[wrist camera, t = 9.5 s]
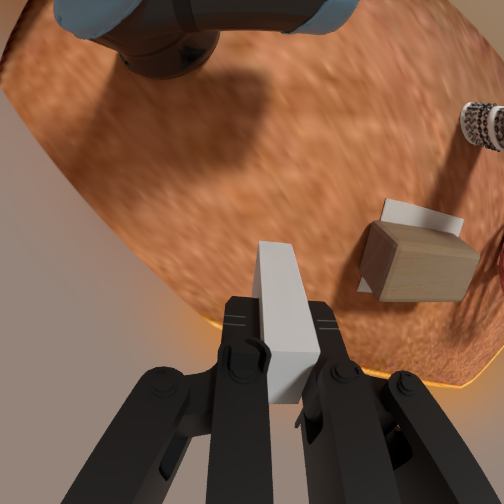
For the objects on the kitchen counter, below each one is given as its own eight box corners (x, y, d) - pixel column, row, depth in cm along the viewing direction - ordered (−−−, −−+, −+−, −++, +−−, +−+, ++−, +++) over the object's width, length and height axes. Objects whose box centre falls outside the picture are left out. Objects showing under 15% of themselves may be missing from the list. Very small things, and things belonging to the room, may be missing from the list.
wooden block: (356, 270, 46) (437, 276, 47) (376, 304, 38) (462, 303, 38) (370, 217, 42) (453, 231, 43) (397, 243, 33) (483, 254, 34)
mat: (385, 198, 41) (386, 198, 41) (463, 219, 42) (464, 219, 42) (356, 290, 49) (357, 291, 48) (433, 295, 50) (433, 296, 50)
